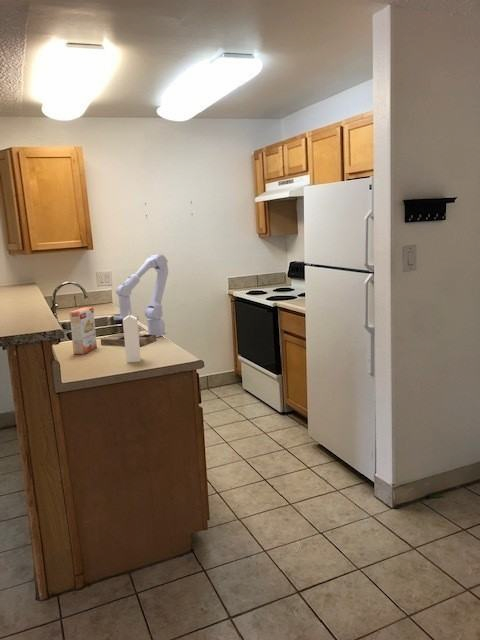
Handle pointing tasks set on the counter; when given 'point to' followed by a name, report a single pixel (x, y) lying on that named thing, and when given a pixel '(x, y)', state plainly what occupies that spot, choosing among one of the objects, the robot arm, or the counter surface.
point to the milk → (131, 338)
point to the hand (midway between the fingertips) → (127, 333)
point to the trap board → (119, 340)
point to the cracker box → (83, 330)
